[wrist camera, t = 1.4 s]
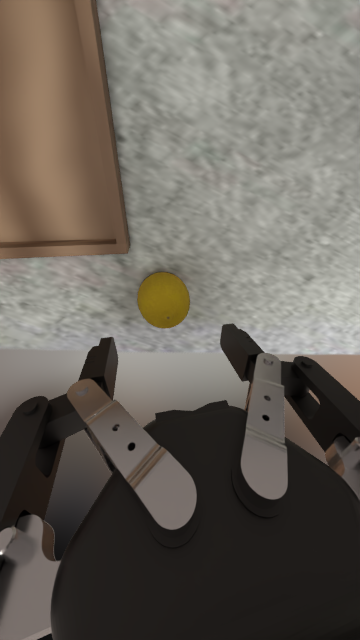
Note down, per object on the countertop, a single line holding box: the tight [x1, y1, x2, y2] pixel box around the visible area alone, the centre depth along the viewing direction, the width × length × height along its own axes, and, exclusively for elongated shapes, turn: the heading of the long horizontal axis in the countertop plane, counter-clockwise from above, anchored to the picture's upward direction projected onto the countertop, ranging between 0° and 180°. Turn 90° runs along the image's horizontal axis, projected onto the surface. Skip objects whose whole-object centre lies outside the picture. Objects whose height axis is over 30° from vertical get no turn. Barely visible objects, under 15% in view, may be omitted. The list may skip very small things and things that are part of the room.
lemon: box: [137, 272, 190, 328], centre depth 20 cm, size 6×6×8 cm
